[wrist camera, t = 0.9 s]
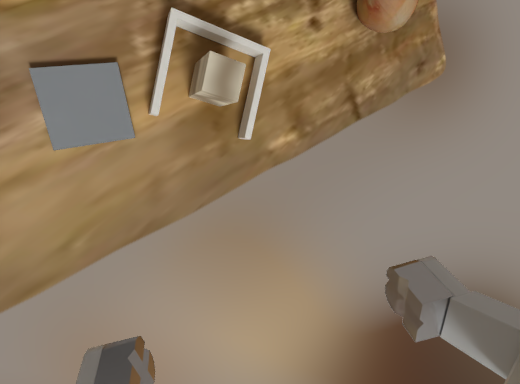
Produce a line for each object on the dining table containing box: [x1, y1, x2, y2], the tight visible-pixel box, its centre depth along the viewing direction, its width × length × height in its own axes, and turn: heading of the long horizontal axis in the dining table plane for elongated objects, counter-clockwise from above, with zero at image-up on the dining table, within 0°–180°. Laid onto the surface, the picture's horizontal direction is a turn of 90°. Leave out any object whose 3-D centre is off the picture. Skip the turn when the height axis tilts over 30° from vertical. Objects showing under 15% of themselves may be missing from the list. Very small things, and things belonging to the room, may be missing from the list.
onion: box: [357, 0, 418, 33], centre depth 53 cm, size 10×10×10 cm
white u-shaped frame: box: [149, 7, 271, 140], centre depth 46 cm, size 15×14×3 cm
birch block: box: [189, 51, 246, 106], centre depth 44 cm, size 5×5×8 cm
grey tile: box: [29, 62, 135, 150], centre depth 41 cm, size 10×10×1 cm
